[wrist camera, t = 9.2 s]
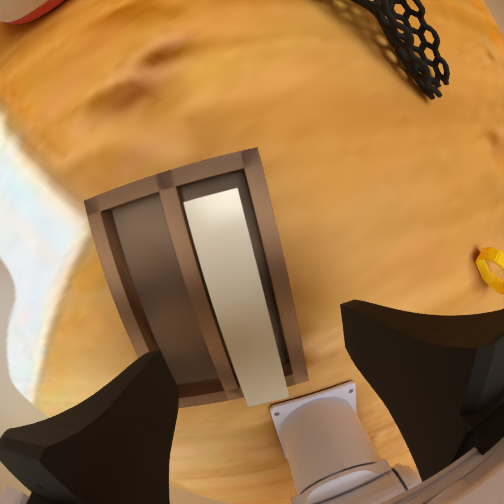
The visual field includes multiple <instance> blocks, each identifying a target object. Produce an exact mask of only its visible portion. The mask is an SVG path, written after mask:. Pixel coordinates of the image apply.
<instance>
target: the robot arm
mask: <svg viewBox="0 0 504 504" xmlns="http://www.w3.org/2000/svg"><path fill="white" fill-rule="evenodd" d="M340 307H341V315H342V323H343V331H344V340H345V348H346V349H347V351H348V353H349V355H350V357H351V359H352V361H353V362H354V364H355V366H356V367H357V368H358V370H359V371H360V372H361V374H362V375H363V376H364V378H365V379H366V380H367V381H368V383H369V384H370V385H371V387H372V388H373V389H374V391H375V392H376V393H377V394H378V396H379V397H380V398H381V400H382V401H383V402H384V404H385V405H386V407H387V408H388V410H389V412H390V414H391V415H392V417H393V419H394V421H395V423H396V424H397V426H398V428H399V430H400V432H401V434H402V436H403V438H404V440H405V442H406V444H407V446H408V448H409V450H410V453H411V455H412V457H413V459H414V462H415V464H416V466H417V469H418V471H419V474H420V477H421V479H422V482H421V481H420V479H419V478H418V476H417V475H416V473H415V472H414V471H413V470H412V469H411V468H410V467H409V466H407V465H401V464H399V463H398V464H396V465H394V466H392V467H390V465H389V464H388V462H387V460H386V459H383V460H382V459H381V457H380V455H379V453H378V452H377V450H376V448H375V446H374V445H373V443H372V441H371V439H370V437H369V436H368V434H367V432H366V430H365V429H364V427H363V425H362V423H361V422H360V420H359V418H358V416H357V415H356V385H355V383H354V382H353V381H350V382H347V383H344V384H341V385H338V386H336V387H333V388H330V389H327V390H324V391H321V392H318V393H314V394H311V395H308V396H304V397H301V398H298V399H294V400H290V401H287V402H283V403H279V404H275V405H272V406H271V407H270V413H271V416H272V419H273V422H274V425H275V428H276V431H277V434H278V437H279V440H280V443H281V446H282V449H283V452H284V455H285V458H286V459H287V460H288V462H289V466H290V470H291V474H292V479H293V483H294V487H295V491H296V495H297V496H295V497H292V498H291V502H292V504H504V309H502V310H498V311H493V312H487V313H481V314H473V315H456V316H442V315H428V314H419V313H413V312H407V311H402V310H397V309H393V308H389V307H385V306H381V305H377V304H373V303H369V302H365V301H360V300H352V301H349V302H346V303H343V304H340ZM349 390H350V391H349ZM178 406H179V388H178V386H177V384H176V382H175V380H174V378H173V376H172V374H171V372H170V370H169V367H168V365H167V363H166V361H165V359H164V357H163V355H162V352H161V350H158V351H152V352H147V353H145V354H144V355H142V356H141V357H139V358H138V359H137V360H136V361H135V362H133V363H132V364H131V365H130V366H129V367H127V368H126V369H125V370H124V371H123V372H122V373H120V374H119V375H118V376H117V377H116V378H114V379H113V380H112V381H111V382H109V383H108V384H107V385H106V386H104V387H103V388H102V389H100V390H99V391H98V392H96V393H95V394H94V395H92V396H91V397H89V398H88V399H86V400H84V401H83V402H81V403H79V404H78V405H76V406H74V407H72V408H70V409H68V410H66V411H64V412H62V413H60V414H58V415H56V416H53V417H51V418H48V419H46V420H43V421H40V422H37V423H34V424H30V425H26V426H22V427H17V428H11V429H8V430H6V431H5V432H4V434H3V435H2V436H1V438H0V461H1V462H2V463H3V465H4V466H5V467H6V468H7V469H8V470H9V471H10V472H11V473H12V474H13V475H14V476H15V477H16V478H17V479H18V480H19V481H20V482H21V483H22V484H23V485H24V486H25V487H27V488H28V489H29V490H30V491H31V492H32V493H31V495H30V497H28V496H27V495H25V494H24V493H22V492H20V491H18V490H16V489H14V488H12V487H10V486H8V485H5V487H4V489H3V491H2V493H1V495H0V504H170V502H169V459H170V451H171V446H172V440H173V435H174V430H175V425H176V419H177V414H178ZM276 412H278V413H276Z"/></svg>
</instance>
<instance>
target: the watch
mask: <svg viewBox="0 0 504 504" xmlns="http://www.w3.org/2000/svg"><path fill="white" fill-rule="evenodd" d="M485 259H486V260H489V261H491V262H494V263H496V264H497V265H498V266H500V267H501V268H502V269H504V252H502V251H500V250H498V249H495V248H492V247H488V248H483V249H482V251H481V252H480V254H479V256H478V258H477V259H476V261H475V263H476V265H477V268H478V270H479V272H480V274H481V276H482V279H483V280H484V281H485V282H486V283H487V284H488V285H489V286H490V287H491V288H492V289H494V290H495V291H496V292H499V293H500V294H503V295H504V282H503V281H502V280H501V279H499V278H498V277H496V276H495V275H494V274H493V273H492V272H491V271H490V270H489V268H488V266H487V264H486V261H485Z"/></svg>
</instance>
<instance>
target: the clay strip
mask: <svg viewBox="0 0 504 504" xmlns="http://www.w3.org/2000/svg"><path fill="white" fill-rule="evenodd" d="M183 203H184V207H185V211H186V215H187V219H188V222H189V226H190V230H191V233H192V237H193V241H194V244H195V248H196V251H197V255H198V258H199V262H200V265H201V268H202V272H203V275H204V278H205V282H206V285H207V288H208V292H209V295H210V298H211V301H212V304H213V308H214V311H215V314H216V317H217V320H218V323H219V326H220V329H221V332H222V335H223V338H224V341H225V344H226V347H227V350H228V353H229V355H230V358H231V361H232V364H233V367H234V370H235V372H236V375H237V378H238V381H239V383H240V386H241V389H242V392H243V394H244V397H245V400H246V402H247V405H248V407H250V406H255V405H260V404H264V403H268V402H272V401H276V400H280V399H284V398H288V397H289V393H288V389H287V385H286V381H285V377H284V373H283V369H282V365H281V361H280V357H279V353H278V349H277V345H276V341H275V337H274V333H273V329H272V325H271V321H270V317H269V313H268V309H267V305H266V301H265V296H264V292H263V288H262V284H261V280H260V276H259V272H258V268H257V264H256V260H255V256H254V252H253V248H252V244H251V240H250V236H249V232H248V228H247V224H246V220H245V216H244V212H243V208H242V204H241V200H240V196H239V192H238V188H235V189H231V190H227V191H223V192H219V193H216V194H212V195H208V196H204V197H201V198H197V199H193V200H190V201H186V202H183Z"/></svg>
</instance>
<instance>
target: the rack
mask: <svg viewBox="0 0 504 504" xmlns="http://www.w3.org/2000/svg"><path fill="white" fill-rule="evenodd" d="M235 188H238V192H239V196H240V200H241V204H242V208H243V212H244V216H245V220H246V224H247V228H248V232H249V236H250V240H251V244H252V248H253V252H254V256H255V260H256V264H257V268H258V272H259V276H260V280H261V284H262V288H263V292H264V296H265V301H266V305H267V309H268V313H269V317H270V321H271V325H272V329H273V333H274V337H275V341H276V345H277V349H278V353H279V357H280V361H281V365H282V369H283V373H284V377H285V381H286V385H287V387H288V386H292V385H295V384H299V383H302V382H305V381H309V380H308V374H307V369H306V363H305V358H304V353H303V348H302V342H301V337H300V332H299V327H298V322H297V317H296V312H295V307H294V303H293V298H292V293H291V288H290V284H289V279H288V274H287V270H286V265H285V261H284V256H283V252H282V247H281V243H280V238H279V234H278V229H277V225H276V221H275V217H274V212H273V208H272V204H271V200H270V196H269V191H268V187H267V183H266V179H265V175H264V171H263V167H262V163H261V159H260V155H259V151H258V147H257V148H252V149H248V150H243V151H239V152H235V153H231V154H226V155H222V156H218V157H215V158H211V159H207V160H203V161H200V162H196V163H192V164H189V165H185V166H182V167H179V168H175V169H172V170H169V171H165V172H162V173H159V174H156V175H153V176H150V177H147V178H144V179H141V180H138V181H135V182H132V183H129V184H127V185H124V186H121V187H118V188H116V189H113V190H110V191H108V192H105V193H102V194H100V195H97V196H95V197H92V198H90V199H87V200H85V201H84V204H85V208H86V212H87V216H88V220H89V224H90V228H91V232H92V235H93V239H94V242H95V246H96V249H97V252H98V256H99V259H100V262H101V265H102V268H103V271H104V274H105V277H106V280H107V283H108V286H109V288H110V291H111V294H112V297H113V299H114V302H115V304H116V307H117V309H118V312H119V314H120V317H121V319H122V322H123V324H124V326H125V329H126V331H127V333H128V336H129V338H130V340H131V342H132V345H133V347H134V349H135V351H136V353H137V355H138V357H141V356H142V355H144V354H145V353H147V352H152V351H158V350H161V352H162V355H163V357H164V359H165V361H166V363H167V365H168V367H169V370H170V372H171V374H172V376H173V378H174V380H175V382H176V384H177V386H178V388H179V406H178V408H183V407H191V406H198V405H204V404H211V403H216V402H222V401H227V400H233V399H238V398H243V397H244V394H243V392H242V389H241V386H240V383H239V381H238V378H237V375H236V372H235V370H234V367H233V364H232V361H231V358H230V355H229V353H228V350H227V347H226V344H225V341H224V338H223V335H222V332H221V329H220V326H219V323H218V320H217V317H216V314H215V311H214V308H213V304H212V301H211V298H210V295H209V292H208V288H207V285H206V282H205V278H204V275H203V272H202V268H201V265H200V262H199V258H198V255H197V251H196V248H195V244H194V241H193V237H192V233H191V230H190V226H189V222H188V219H187V215H186V211H185V207H184V203H183V202H186V201H190V200H193V199H197V198H201V197H204V196H208V195H212V194H216V193H219V192H223V191H227V190H231V189H235Z"/></svg>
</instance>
